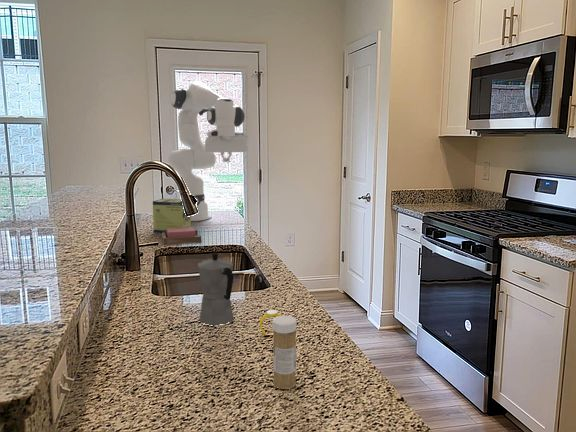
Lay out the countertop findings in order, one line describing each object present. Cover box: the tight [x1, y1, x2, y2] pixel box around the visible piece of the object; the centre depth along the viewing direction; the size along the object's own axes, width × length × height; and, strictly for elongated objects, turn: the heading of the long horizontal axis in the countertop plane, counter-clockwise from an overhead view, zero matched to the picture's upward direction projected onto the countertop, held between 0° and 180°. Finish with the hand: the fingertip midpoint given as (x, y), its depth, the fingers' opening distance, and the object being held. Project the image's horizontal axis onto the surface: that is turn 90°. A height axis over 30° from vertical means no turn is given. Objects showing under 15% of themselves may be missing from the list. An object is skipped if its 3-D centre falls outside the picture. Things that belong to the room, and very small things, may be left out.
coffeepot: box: [197, 252, 235, 325], centre depth 121 cm, size 15×9×18 cm, turn 35°
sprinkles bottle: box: [271, 315, 298, 390], centre depth 90 cm, size 5×5×13 cm
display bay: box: [161, 229, 202, 245], centre depth 216 cm, size 15×16×2 cm
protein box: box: [152, 198, 192, 234], centre depth 233 cm, size 10×16×16 cm
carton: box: [166, 226, 197, 238], centre depth 215 cm, size 9×12×5 cm
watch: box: [259, 309, 283, 335], centre depth 114 cm, size 6×3×6 cm, turn 101°
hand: (226, 161), depth 228 cm, fingers closed
